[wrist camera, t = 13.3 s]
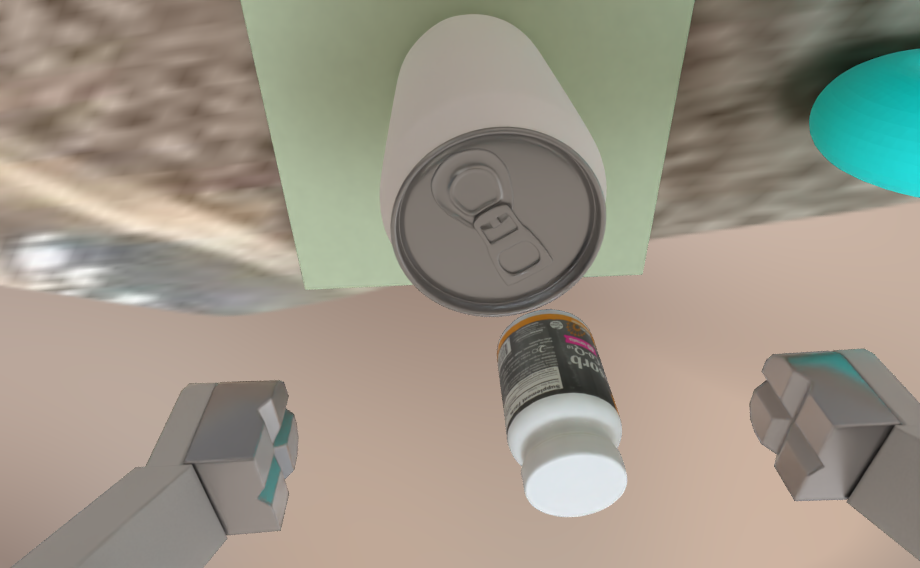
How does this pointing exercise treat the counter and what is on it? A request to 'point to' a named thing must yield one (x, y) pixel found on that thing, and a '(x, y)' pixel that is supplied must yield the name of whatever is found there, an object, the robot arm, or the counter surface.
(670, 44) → the mat
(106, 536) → the robot arm
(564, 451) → the pill bottle
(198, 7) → the counter surface
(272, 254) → the counter surface
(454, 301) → the can
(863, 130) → the donuts
